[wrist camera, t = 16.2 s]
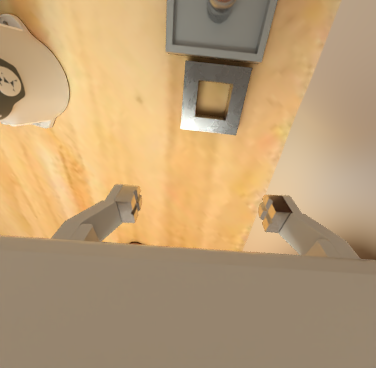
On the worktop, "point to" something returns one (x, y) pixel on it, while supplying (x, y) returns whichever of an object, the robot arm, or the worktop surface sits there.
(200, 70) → the receiver
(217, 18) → the pin
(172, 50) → the tray
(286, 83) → the worktop surface
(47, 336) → the robot arm
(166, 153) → the worktop surface
